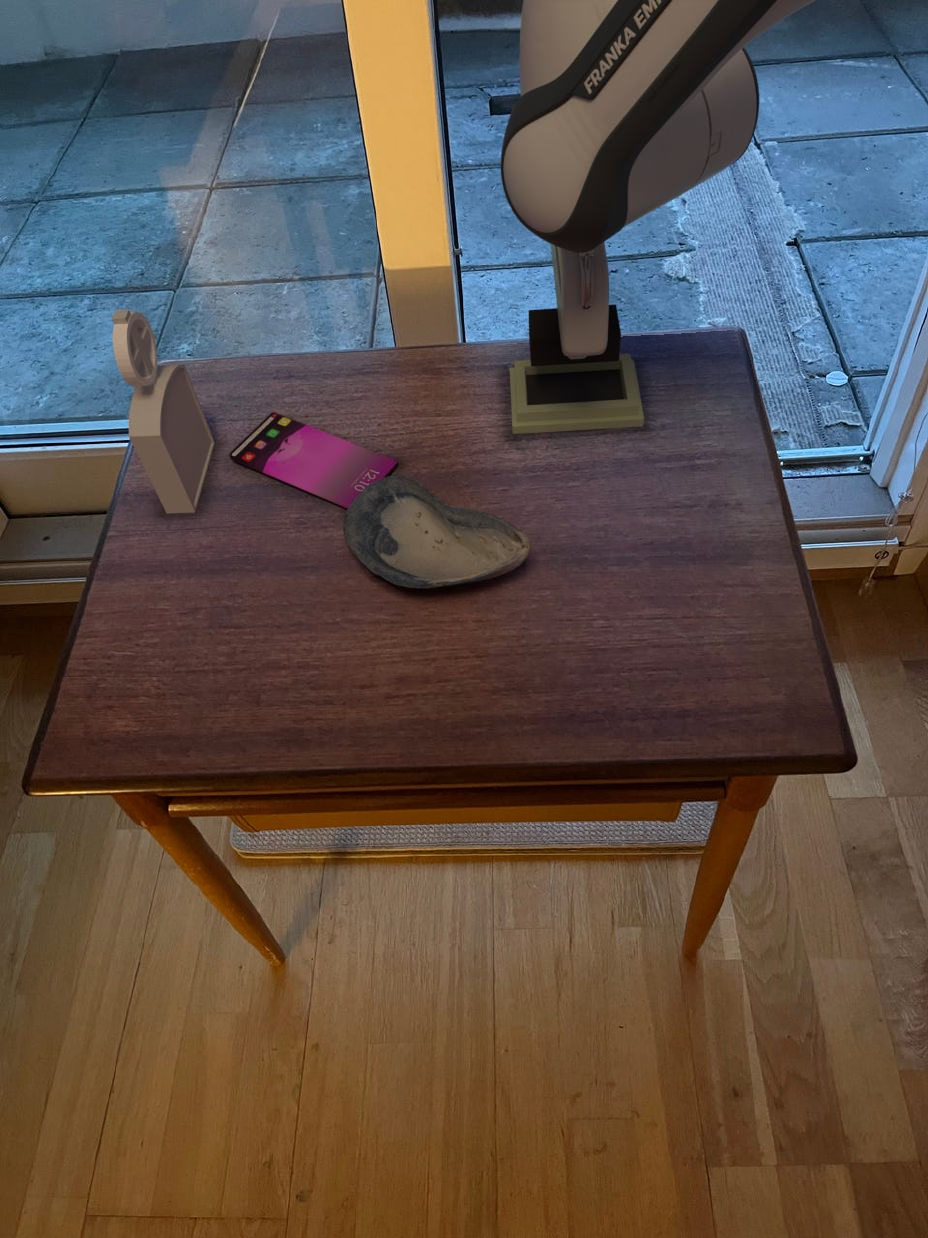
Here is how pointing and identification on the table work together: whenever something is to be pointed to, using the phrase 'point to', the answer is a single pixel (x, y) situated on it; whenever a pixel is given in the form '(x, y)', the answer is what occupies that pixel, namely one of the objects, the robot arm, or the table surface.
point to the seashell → (428, 537)
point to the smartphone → (311, 459)
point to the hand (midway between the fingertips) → (574, 334)
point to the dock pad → (575, 396)
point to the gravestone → (163, 416)
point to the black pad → (549, 343)
